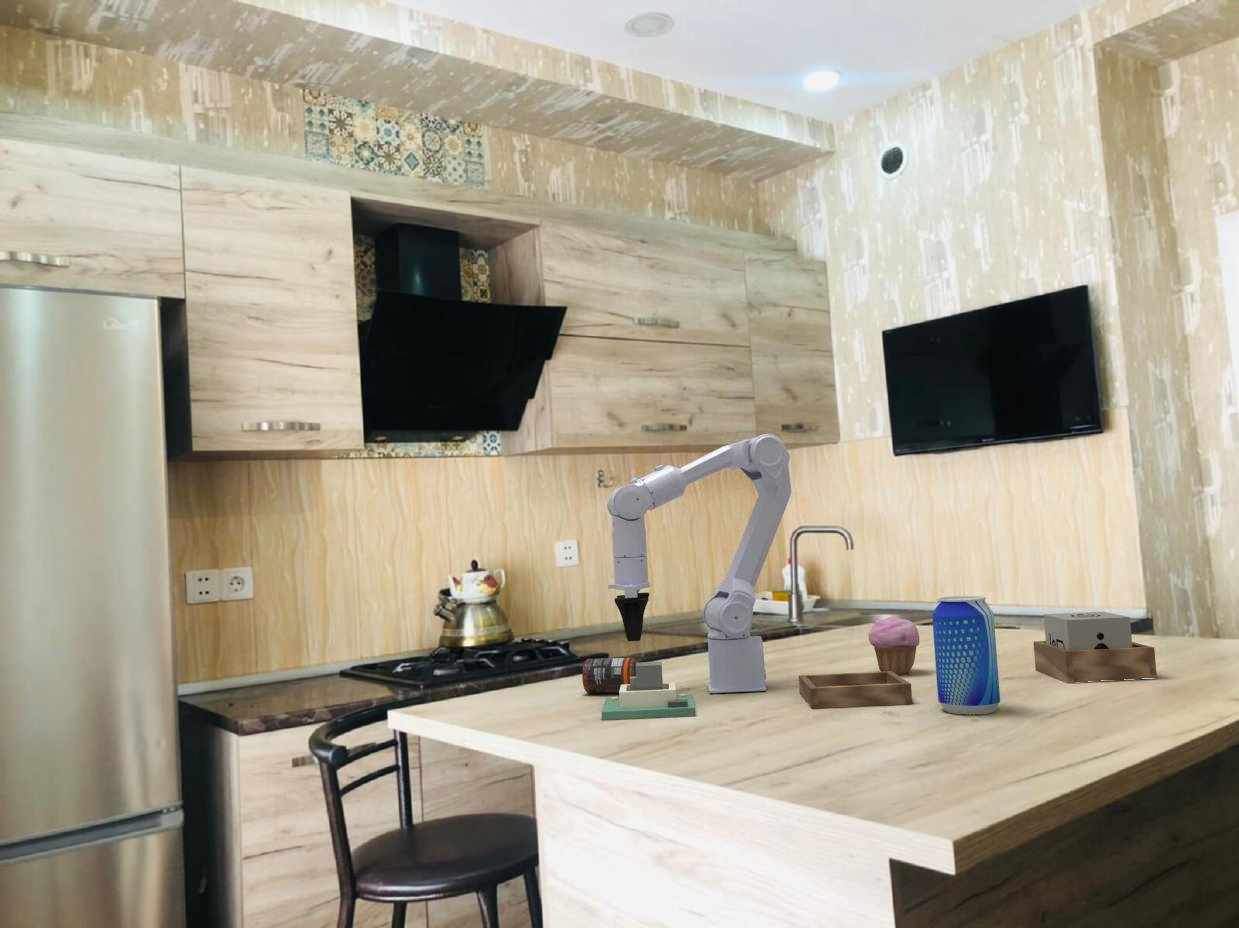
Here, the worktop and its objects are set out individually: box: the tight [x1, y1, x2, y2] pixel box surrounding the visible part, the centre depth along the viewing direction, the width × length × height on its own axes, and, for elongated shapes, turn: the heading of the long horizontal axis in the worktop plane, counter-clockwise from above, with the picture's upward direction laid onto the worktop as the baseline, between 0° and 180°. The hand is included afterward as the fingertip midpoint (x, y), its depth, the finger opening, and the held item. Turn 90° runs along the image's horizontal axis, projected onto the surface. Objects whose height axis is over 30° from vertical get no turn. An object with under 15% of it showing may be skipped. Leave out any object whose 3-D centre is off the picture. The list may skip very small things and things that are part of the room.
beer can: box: [931, 595, 1001, 716], centre depth 146 cm, size 8×8×16 cm
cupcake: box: [868, 616, 920, 676], centre depth 182 cm, size 9×9×10 cm
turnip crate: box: [798, 671, 913, 709], centre depth 159 cm, size 15×13×3 cm
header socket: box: [618, 681, 677, 709], centre depth 158 cm, size 9×8×2 cm
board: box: [600, 693, 696, 721], centre depth 158 cm, size 14×12×2 cm
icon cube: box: [1043, 611, 1133, 651], centre depth 169 cm, size 10×10×10 cm
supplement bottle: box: [581, 657, 639, 694], centre depth 176 cm, size 6×6×11 cm
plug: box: [630, 660, 664, 691], centre depth 158 cm, size 5×4×6 cm
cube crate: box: [1033, 640, 1158, 684], centre depth 169 cm, size 14×14×5 cm
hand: (634, 638), depth 171 cm, fingers open, 7 cm apart
